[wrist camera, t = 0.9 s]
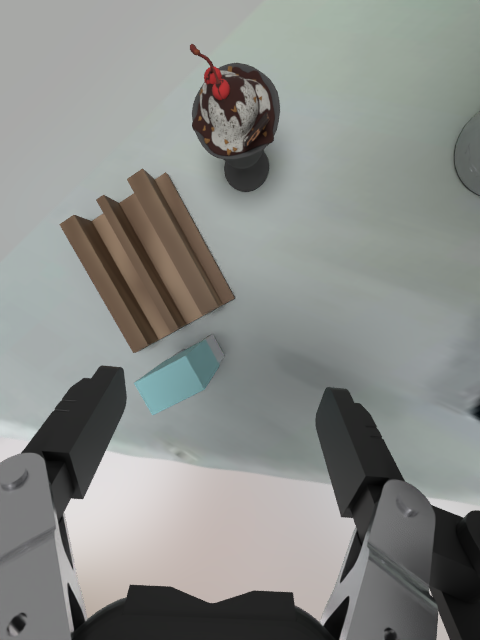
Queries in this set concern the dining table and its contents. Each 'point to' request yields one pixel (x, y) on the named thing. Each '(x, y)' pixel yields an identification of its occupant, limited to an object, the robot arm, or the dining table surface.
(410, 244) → the dining table surface
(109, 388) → the robot arm
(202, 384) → the aqua box with feet
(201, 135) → the sundae
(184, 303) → the rail
